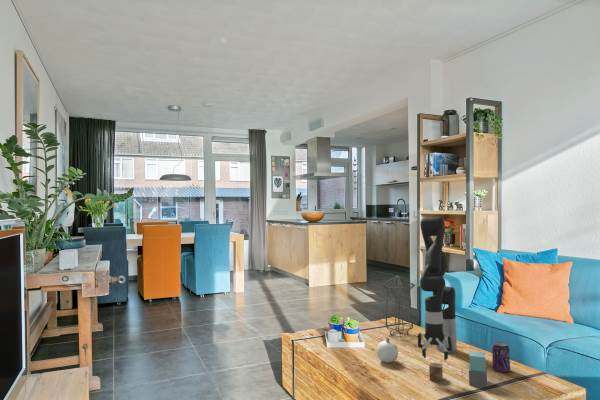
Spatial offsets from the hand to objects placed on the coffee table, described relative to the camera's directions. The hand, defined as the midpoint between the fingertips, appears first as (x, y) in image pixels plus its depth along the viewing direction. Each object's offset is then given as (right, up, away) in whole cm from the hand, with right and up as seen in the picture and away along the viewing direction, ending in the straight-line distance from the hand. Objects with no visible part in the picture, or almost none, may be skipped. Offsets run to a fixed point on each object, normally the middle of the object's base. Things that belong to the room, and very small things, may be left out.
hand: (435, 358), depth 182 cm
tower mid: (+17, -2, -5) cm, 17 cm away
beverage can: (+33, -8, +7) cm, 34 cm away
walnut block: (0, -9, 0) cm, 9 cm away
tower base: (+17, -8, -5) cm, 19 cm away
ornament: (-16, -10, +22) cm, 29 cm away
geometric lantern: (0, -11, +65) cm, 66 cm away
